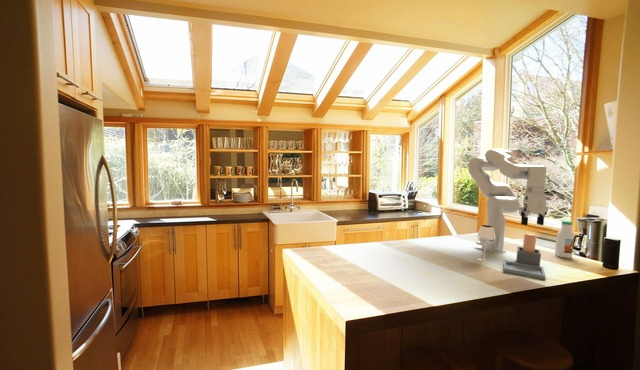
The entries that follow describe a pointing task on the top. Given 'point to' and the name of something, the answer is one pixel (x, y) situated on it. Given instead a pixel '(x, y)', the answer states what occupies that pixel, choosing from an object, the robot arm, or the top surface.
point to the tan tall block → (529, 243)
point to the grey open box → (528, 257)
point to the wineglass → (486, 237)
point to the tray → (524, 270)
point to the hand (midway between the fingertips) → (532, 224)
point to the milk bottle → (565, 240)
